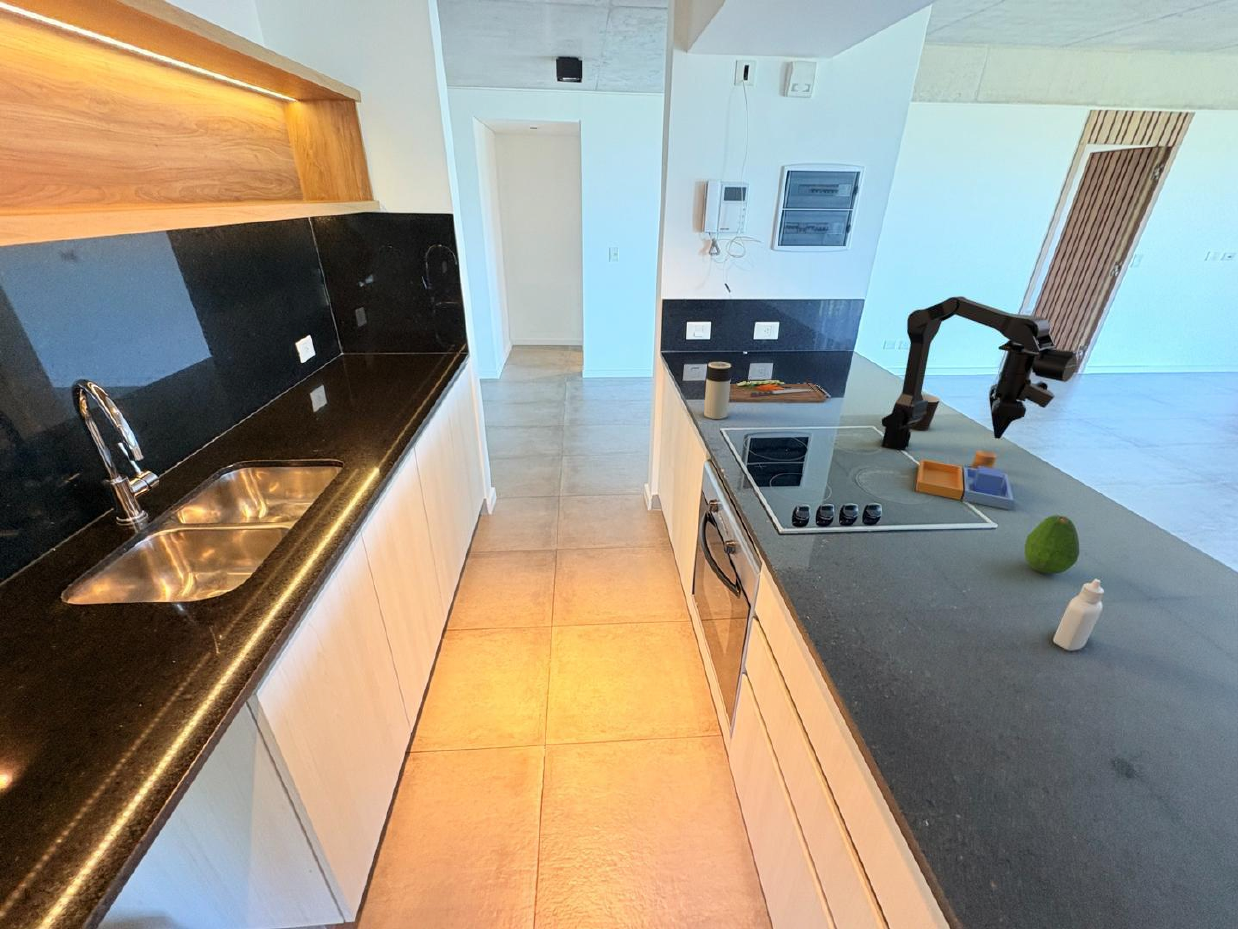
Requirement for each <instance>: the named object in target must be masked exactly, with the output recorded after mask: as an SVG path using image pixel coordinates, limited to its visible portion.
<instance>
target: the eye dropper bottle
mask: <svg viewBox="0 0 1238 929" xmlns="http://www.w3.org/2000/svg"><path fill="white" fill-rule="evenodd" d="M1104 594H1105V590H1104V589H1103V587H1102V586H1101V580H1100V579H1097V578H1094V579H1093V580H1092V582H1089V583H1088V582H1087V583H1084V584H1083V585H1082V587H1081V590H1080V591H1079V594H1078V595H1075V596H1074V597H1073V598H1072V599H1071V600H1070V601H1069V603H1068V605H1067V607H1066V609H1065V612H1064V613H1063V616H1062V618H1061V620H1060V623H1059V626H1058V627H1057V630H1056V632H1055V634H1054V636H1053V643H1054V644H1055V645H1057V646H1059V647H1060V648H1062V649H1063V650H1065V651H1070V652H1071V651H1072V652H1073V651H1078V650H1080V649H1083V647H1084V646H1085V645H1086V644H1087V642H1088V640H1089V638H1090V635H1091V633H1092V631H1093V629H1094V627H1095V625H1096V623H1097V621H1098V619H1099V617H1100V615H1101V613H1102V610H1103V603H1102V601H1101V600H1102V598H1103V595H1104Z"/></svg>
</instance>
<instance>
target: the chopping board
mask: <svg viewBox="0 0 1238 929" xmlns="http://www.w3.org/2000/svg"><path fill="white" fill-rule="evenodd" d="M808 384H809V385H810V386H809V385H808ZM808 384H807V383H806V382H804V383H803V384H800V383H797V384H785V383H784V382H780V381H779V380H765V381H750V382H749V381H748V382H746V381H743V382H740V383H736V384H730V393H729V403H798V404H799V403H800V404H801V403H803V404H805V403H807V404H809V403H811V404H812V403H813V404H815V403H816V404H818V403H819V404H820V403H825V402H827V397H828V399H829V398H832V396H831V395H830V394H829V393H828V392H827V391H826V390H825V389H823V388H822V387H821V386H820V385H819V384H818V385H819V386H818V385H816V384H813V383H812V382H811V383H808ZM782 387H791V388H782ZM811 387H812V388H813V389H814V390H813V389H812V388H811ZM820 387H821V388H822V389H821V388H820Z"/></svg>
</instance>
